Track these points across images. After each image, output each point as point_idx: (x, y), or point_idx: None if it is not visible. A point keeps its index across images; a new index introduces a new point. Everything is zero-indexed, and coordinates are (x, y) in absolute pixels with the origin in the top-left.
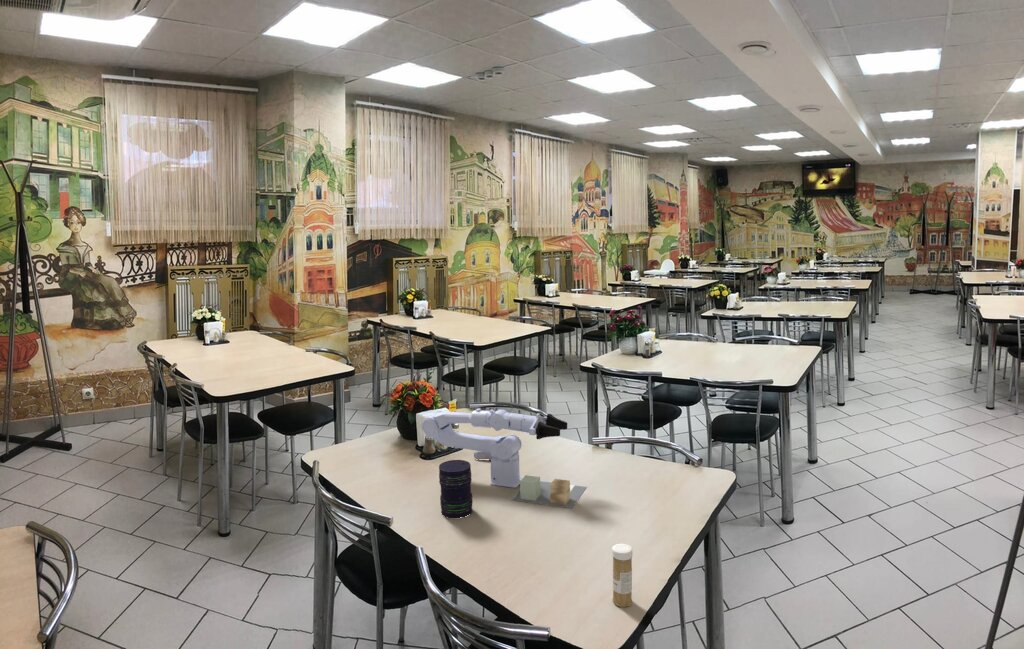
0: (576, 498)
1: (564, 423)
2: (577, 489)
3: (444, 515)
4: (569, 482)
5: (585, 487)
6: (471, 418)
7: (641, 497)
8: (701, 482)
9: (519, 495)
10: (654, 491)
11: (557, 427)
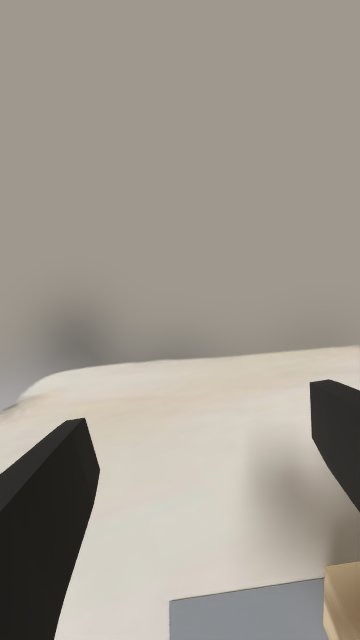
0: (299, 592)
1: (77, 440)
2: (211, 637)
3: None
4: (331, 570)
5: (176, 603)
6: None
7: (185, 430)
8: (90, 385)
9: None
10: (145, 421)
11: (56, 584)
